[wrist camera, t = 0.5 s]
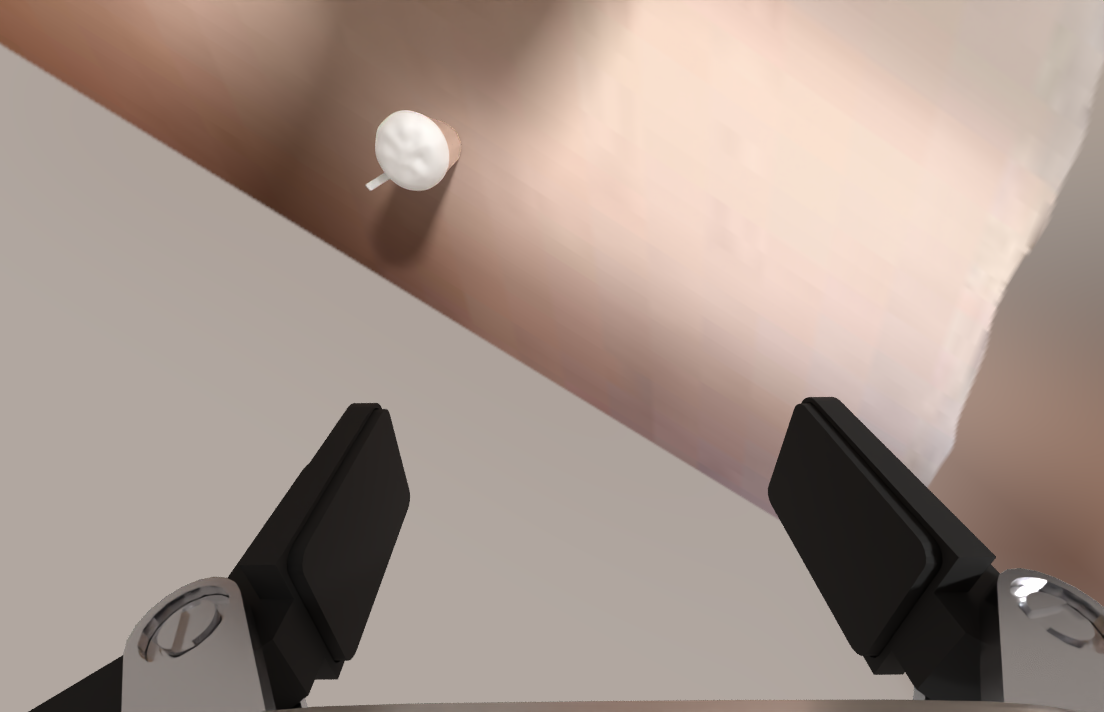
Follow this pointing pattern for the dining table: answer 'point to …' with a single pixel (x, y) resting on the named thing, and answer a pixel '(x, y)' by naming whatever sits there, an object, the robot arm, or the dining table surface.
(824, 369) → the dining table surface
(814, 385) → the dining table surface
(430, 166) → the milkshake
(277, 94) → the dining table surface
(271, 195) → the dining table surface
